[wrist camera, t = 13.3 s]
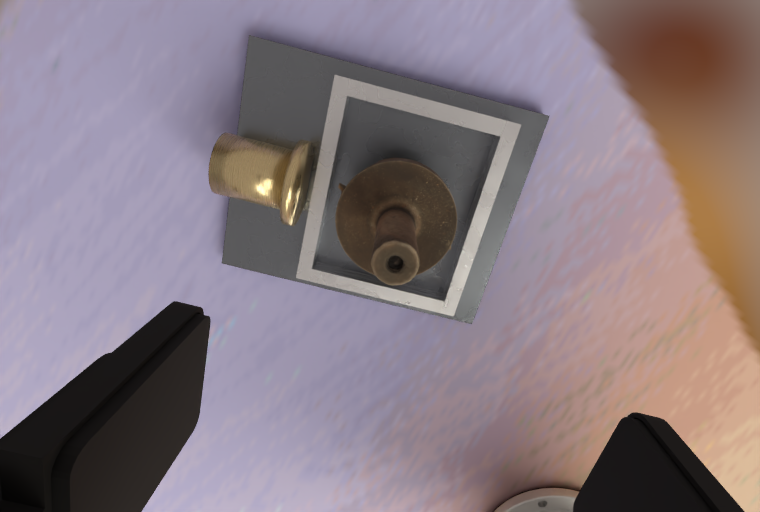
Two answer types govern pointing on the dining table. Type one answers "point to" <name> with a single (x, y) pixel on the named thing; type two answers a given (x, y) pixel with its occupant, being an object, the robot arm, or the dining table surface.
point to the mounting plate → (352, 155)
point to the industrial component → (396, 219)
